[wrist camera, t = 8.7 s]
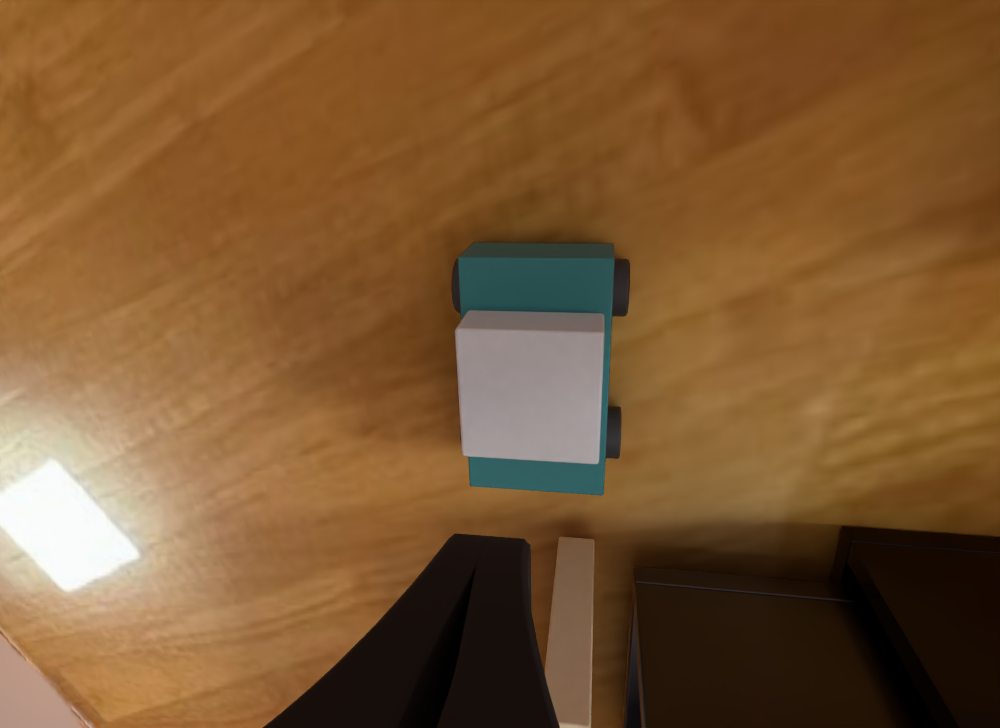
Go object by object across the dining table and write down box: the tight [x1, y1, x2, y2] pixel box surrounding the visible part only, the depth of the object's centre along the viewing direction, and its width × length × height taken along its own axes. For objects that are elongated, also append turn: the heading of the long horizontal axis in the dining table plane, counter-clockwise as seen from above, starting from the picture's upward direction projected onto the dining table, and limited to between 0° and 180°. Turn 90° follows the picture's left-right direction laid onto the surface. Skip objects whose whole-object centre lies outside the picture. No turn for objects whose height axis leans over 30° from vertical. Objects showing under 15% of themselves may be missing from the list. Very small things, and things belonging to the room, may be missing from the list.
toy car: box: [452, 243, 630, 495], centre depth 17 cm, size 7×5×4 cm
